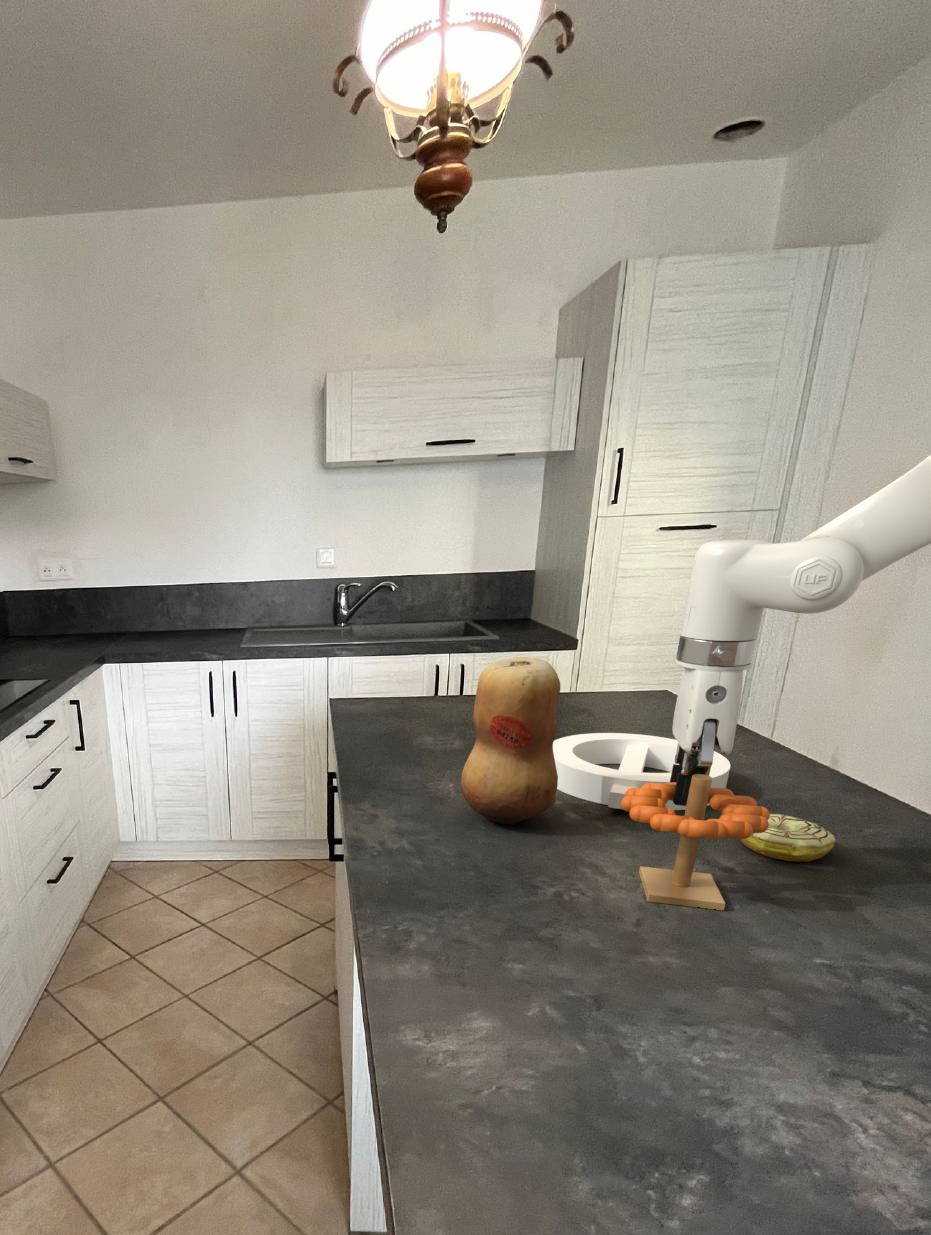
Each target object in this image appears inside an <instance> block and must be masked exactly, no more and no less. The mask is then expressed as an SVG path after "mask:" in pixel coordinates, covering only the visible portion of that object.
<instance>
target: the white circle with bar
mask: <svg viewBox="0 0 931 1235" xmlns="http://www.w3.org/2000/svg"><path fill="white" fill-rule="evenodd" d="M677 746H678V742H677V740H676V738H669V737H662V736H658V735H657V736H656V735H649V734H648V735H647V734H637V733H624V732H592V733H580V734H573V735H568V736H563V737H560V738H557V739H555V740H554V742H553V754H554V759H555V764H556V769H557V775H558V786H557V790H558V791H560V792H562V793H565V794H567V795H569V796H573V797H575V798H577V799H581V800H585V801H588V802H592V803H597V804H602V805H607V808H612V809H618V810H623V809H622V807H621V801H622V799H623V798H624V797H625V793H626V791H627V790H628V789H630V788H641V787H642V786H643V785H644V784H646V783H660V784H668V783H670V779H671V773H672V768H673V764H675V755H676V750H677ZM608 764H610V765H619V767H618V769H616V768H611V767H607V766H601V765H608ZM677 765H679V764H677ZM645 767H646V768H650V769H656V770H661V771H665V772H644V769H645ZM730 770H731V763H730V761H729V759H727V757H726V756H725V755H723V754H722V753H719V752H717V751H715V750H714V754H713V763H712V766H711V769H710V774H709V776H710V777H712V782H711V786H710V787H713V788H725V789H727V784H728V781H729V780H728V779H729V776H730ZM665 805H666V808H670V809H672V810H673V811H685V810H686V806H682V805H675V804H674V803H673V800H668V802H667V803H666V804H665ZM706 807H710V804H709V803H707V806H706Z"/></svg>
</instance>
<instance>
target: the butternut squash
mask: <svg viewBox="0 0 931 1235" xmlns="http://www.w3.org/2000/svg"><path fill="white" fill-rule="evenodd" d="M560 693H561V681H560V678H559V676H558V673H557V671H556V669H555V668H554V667H553V666H552V664H551V663H549V662H548V661H547V660H544V659H541V658H537V657H536V658H534V657H528V656H516V657H509V658H504V659H500V660H496V661H495V662H493V663H491V664H490V665H488V666H487V667H485V668H484V670H482V672H481V673H480V675H479V678H478V681H477V686H476V692H475V699H474V706H473V726H474V731H475V741H474V745H473V748H472V750H471V751H470V753H469V754H468V757H467V759H466V762H465V764H464V766H463V769H462V772H461V777H460V789H461V793H462V796H463V798H464V800H465V801H466V803H467V804H468V806H469V807H470V808H471V809H472V810H473V811H474V812H475V813H478V814H479V815H481V816H483V817H485V818H487V819H488V820H489V821H490V822H494V823H497V824H503V825H515V824H517V823H520V822H522V821H525V820H528V819H531V818H534V817H535V818H536V817H539V816H542V815H543V814H544V813H545V812H546V811H548V810H549V809H550V808H552V806H553V805H555V804H556V793H557V790H558V789H557V786H558V775H557V769H556V764H555V759H554V754H553V742H554V741H555V740H556V738H557V736H558V724H557V715H558V714H557V708H558V701H559V696H560Z"/></svg>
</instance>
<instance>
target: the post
mask: <svg viewBox="0 0 931 1235" xmlns="http://www.w3.org/2000/svg"><path fill="white" fill-rule="evenodd" d="M711 782H712V777H710V776H708V775H703V774H695V775H692V779H691V784H690V789H689V794H688V799H687V805H686V810H684V815H683V816H688V817H692V818H694V819H695V820H704V821H705V815H706V810H707V807H708V806H707V801H708V796H709V791H710V786H711ZM700 839H701V838H696V837H686V836H682V835H681V834H679V840H678V846H677V851H676V855H675V861H674V866H673V869H669V868H658V867H650V866H641V865H640V866H639V870H638V875H639V878H640V880H641V884H642V887H643V891H644V894H645V898H646V901H647V902H649V903H657V904H665V905H666V904H667V905H673V906H681V907H689V908H697V907H700V908H699V909H706V908H707V910H714V909H716V910H715V911H722V910H723V912H724V911H725V908H726V901H725V899H724V898H723V895H722V894H721V891H720V890H719V888H718V886H717V884H716V882H715V880H714V877H713V876H712V874H711V873H706V872H705V873H704V872H698V871H697V872H696V871H694V869H695V864H696V858H697V855H698V854H697V853H698V849H699V844H700Z"/></svg>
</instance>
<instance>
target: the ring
mask: <svg viewBox="0 0 931 1235" xmlns="http://www.w3.org/2000/svg"><path fill="white" fill-rule="evenodd" d="M675 786H676V782H671V783H668V784H660V783H646V784H644V785H643V786H642V787H641V788H630V789H628V790H627V791H626V793H625V797H624V798H623V799H622V801H621V807H622V809H621V810H623V811H624V812H627V813H629V817H630V819H631V820H632V821H633V822H636V823H644V824H649V825H650V827H651V829H652V830H654V831H656V832H663V833H674V834H679V835H682V836H686V837H696V838H700V839H707V840H708V839H709V840H721V839H723V838H726V839H735V840H741V839H746V838H748V837H750V836H751V835H752V833H762V832H765V831H766V830H767V829H768V827H769V822H768V819H769V817H770V814H771V812H770V811H769V809H768V808H766V807H764V806H761V805H760V806H759V805H758V803H757V800H756V799H755V798H753V797H752V796H748V795H735V794H734V792H733V791H732V790H731V789H729V788H726V789H725V788H713V787H710V791H709V796H708V801H707V803H709V804H710V805H709V807H710V808H711V809H712V810H714V811H717V812H719V811H720V817H719V818H709V819H707V820H705V819H704V820H695V819H694V818H692V817H688V816H684V815H677V814H676V812H675V810H672V809H670V808H666V805H665V804H666V803H667V802H668V800H673V797H674V792H675Z"/></svg>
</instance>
